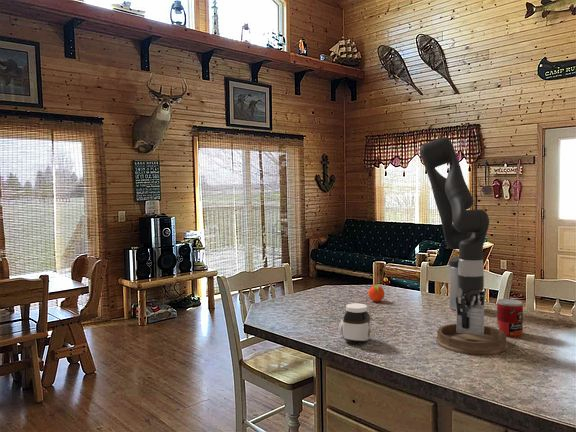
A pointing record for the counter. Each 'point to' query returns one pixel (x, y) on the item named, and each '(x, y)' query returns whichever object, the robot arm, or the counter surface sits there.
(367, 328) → the spread jar
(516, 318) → the canned food
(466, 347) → the round wooden tray
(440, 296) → the counter surface
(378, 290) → the clementine
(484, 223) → the robot arm
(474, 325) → the medicine box
